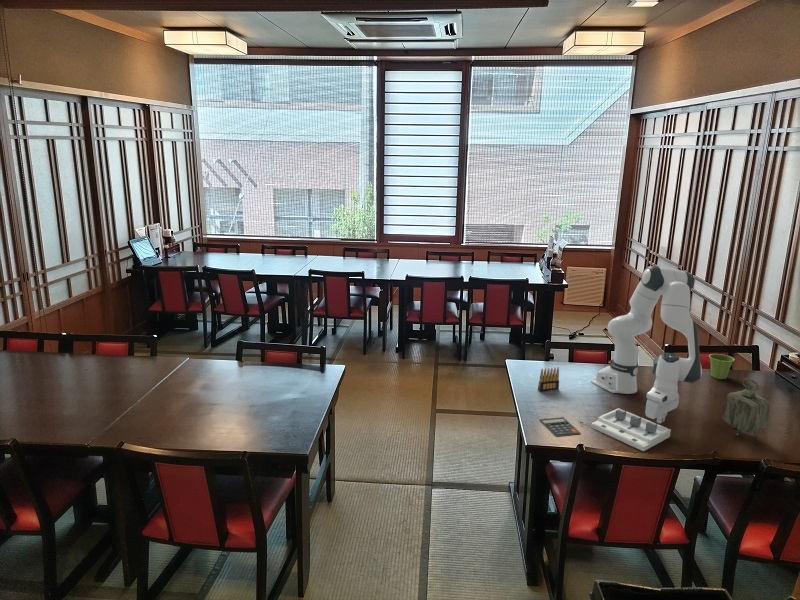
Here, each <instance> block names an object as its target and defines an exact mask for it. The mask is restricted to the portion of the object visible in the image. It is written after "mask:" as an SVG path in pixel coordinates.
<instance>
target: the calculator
mask: <svg viewBox="0 0 800 600" xmlns="http://www.w3.org/2000/svg"><path fill="white" fill-rule="evenodd" d="M539 422H540V423H541V424H542V425H543V426H544V427H545V428H546V429H547V430H548V431H549V432H550V433H551V434H553V436H554V437H555V438H557V437H566V436H576V435H577V436H578V435H581V432H580V431H579V430H578V429H577V428H576V427H575V426H574V425H572V423H570V421H568V420H567V419H566V418H565V416H561V417H551V418H549V417H548V418H541V419H539Z"/></svg>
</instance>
